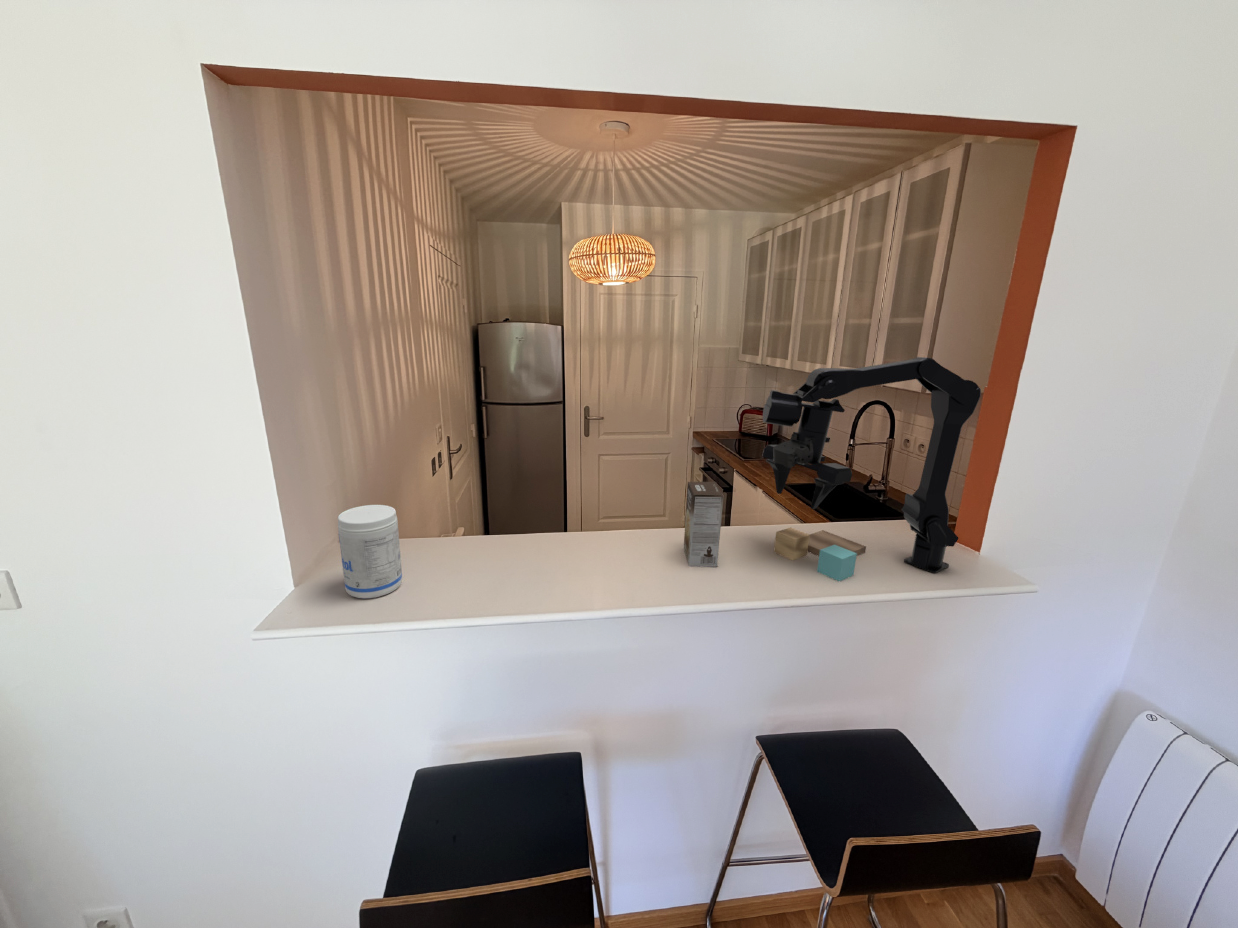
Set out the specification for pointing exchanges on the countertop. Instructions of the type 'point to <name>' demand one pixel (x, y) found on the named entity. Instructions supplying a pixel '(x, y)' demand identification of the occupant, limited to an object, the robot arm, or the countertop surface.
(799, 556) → the oak block
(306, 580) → the countertop surface
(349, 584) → the supplement tub
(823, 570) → the teal block
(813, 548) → the walnut board
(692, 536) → the coffee box
